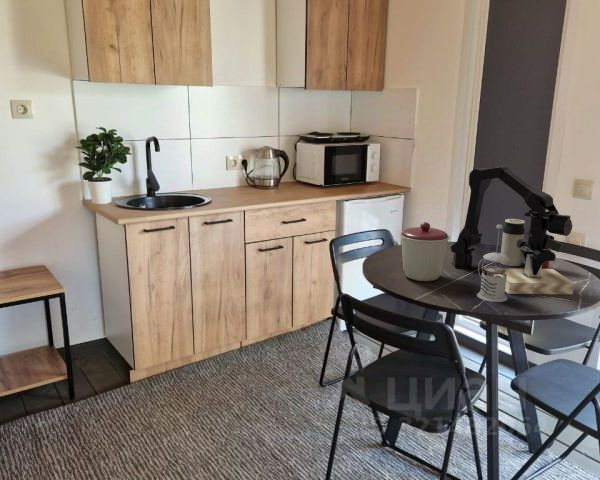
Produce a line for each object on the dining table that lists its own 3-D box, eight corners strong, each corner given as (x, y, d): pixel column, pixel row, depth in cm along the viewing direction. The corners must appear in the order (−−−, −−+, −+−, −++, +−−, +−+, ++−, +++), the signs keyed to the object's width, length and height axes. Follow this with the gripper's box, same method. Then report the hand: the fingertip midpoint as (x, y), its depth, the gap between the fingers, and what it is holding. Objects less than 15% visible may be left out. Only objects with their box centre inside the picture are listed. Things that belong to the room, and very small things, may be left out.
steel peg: (527, 284, 182) (531, 256, 180) (523, 280, 186) (526, 253, 184) (539, 284, 182) (542, 257, 180) (534, 280, 186) (537, 253, 184)
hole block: (508, 293, 177) (509, 282, 176) (492, 278, 192) (493, 268, 191) (572, 294, 177) (574, 283, 176) (551, 279, 192) (552, 268, 191)
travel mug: (524, 264, 210) (529, 221, 205) (512, 267, 205) (518, 223, 201) (507, 259, 216) (512, 217, 212) (495, 263, 212) (500, 220, 207)
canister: (455, 276, 194) (459, 222, 189) (431, 288, 181) (436, 230, 176) (412, 266, 206) (416, 215, 201) (388, 277, 193) (390, 222, 188)
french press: (491, 303, 168) (499, 229, 162) (466, 292, 178) (473, 221, 172) (514, 299, 172) (522, 226, 166) (488, 288, 182) (496, 219, 176)
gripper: (574, 237, 170) (567, 281, 174) (548, 224, 188) (543, 265, 192) (540, 236, 170) (534, 281, 174) (518, 224, 188) (513, 264, 192)
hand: (532, 272), depth 183 cm, fingers closed on steel peg, 4 cm apart
